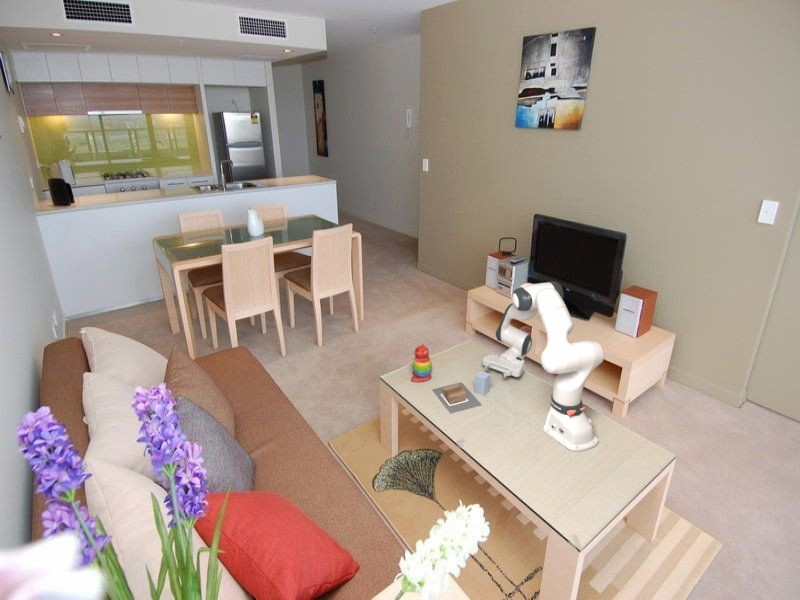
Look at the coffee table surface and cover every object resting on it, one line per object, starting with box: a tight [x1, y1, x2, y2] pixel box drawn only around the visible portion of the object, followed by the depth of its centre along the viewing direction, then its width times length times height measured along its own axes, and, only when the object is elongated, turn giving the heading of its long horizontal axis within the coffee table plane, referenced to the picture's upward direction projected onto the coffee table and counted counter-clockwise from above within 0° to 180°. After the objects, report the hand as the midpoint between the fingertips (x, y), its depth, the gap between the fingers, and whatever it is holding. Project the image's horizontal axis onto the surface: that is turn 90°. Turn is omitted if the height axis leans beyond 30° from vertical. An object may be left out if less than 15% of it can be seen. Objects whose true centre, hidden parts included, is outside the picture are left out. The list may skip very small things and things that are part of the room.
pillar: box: [474, 370, 491, 397], centre depth 216 cm, size 5×5×10 cm
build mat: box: [431, 381, 483, 415], centre depth 215 cm, size 20×16×1 cm
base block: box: [443, 383, 466, 404], centre depth 213 cm, size 8×8×4 cm
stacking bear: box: [410, 343, 433, 384], centre depth 228 cm, size 11×10×18 cm
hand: (494, 372), depth 224 cm, fingers open, 8 cm apart
